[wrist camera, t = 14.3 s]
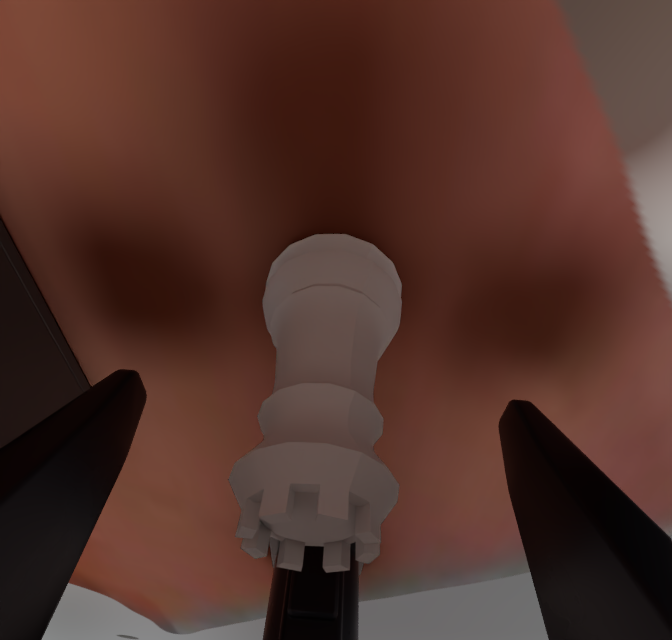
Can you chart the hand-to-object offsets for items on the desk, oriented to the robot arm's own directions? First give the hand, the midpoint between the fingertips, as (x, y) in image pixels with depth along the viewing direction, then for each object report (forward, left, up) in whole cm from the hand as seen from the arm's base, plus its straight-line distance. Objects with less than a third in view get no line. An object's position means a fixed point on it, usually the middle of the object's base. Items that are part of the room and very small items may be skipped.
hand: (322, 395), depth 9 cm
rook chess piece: (0, 0, -5) cm, 5 cm away
